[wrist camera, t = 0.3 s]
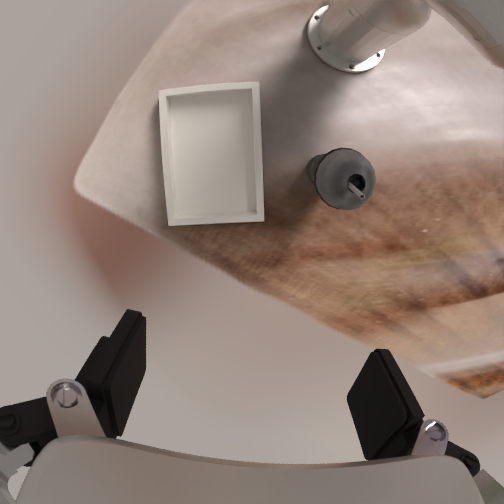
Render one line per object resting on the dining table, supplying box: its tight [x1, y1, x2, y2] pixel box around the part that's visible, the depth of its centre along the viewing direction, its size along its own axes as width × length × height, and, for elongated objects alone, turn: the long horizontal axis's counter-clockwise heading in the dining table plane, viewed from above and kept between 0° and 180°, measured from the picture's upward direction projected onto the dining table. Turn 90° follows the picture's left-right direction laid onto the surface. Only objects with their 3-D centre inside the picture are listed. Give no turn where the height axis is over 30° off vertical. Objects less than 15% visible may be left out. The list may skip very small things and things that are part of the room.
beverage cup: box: [307, 148, 376, 210], centre depth 34 cm, size 7×7×20 cm
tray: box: [159, 82, 264, 226], centre depth 41 cm, size 20×14×3 cm
